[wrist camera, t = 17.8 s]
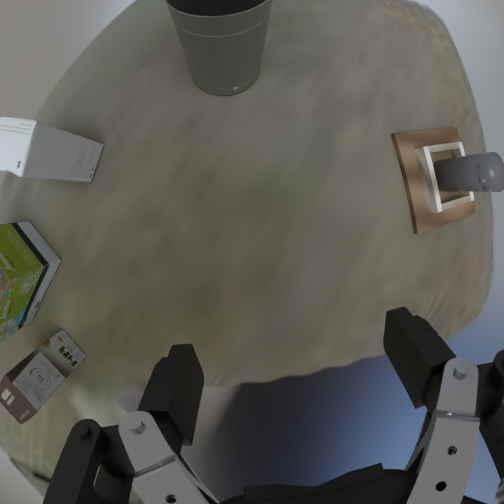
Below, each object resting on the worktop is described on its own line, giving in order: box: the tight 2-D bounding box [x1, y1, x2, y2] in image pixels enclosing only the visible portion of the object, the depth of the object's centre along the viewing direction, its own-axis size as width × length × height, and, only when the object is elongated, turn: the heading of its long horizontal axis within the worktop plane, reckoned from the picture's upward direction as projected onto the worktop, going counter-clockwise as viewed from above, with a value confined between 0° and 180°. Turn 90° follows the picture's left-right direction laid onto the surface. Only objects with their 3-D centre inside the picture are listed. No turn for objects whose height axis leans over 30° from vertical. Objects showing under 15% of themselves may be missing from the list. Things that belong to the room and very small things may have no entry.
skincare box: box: [0, 117, 104, 183], centre depth 24 cm, size 8×6×15 cm
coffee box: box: [0, 329, 86, 425], centre depth 28 cm, size 9×6×16 cm
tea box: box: [0, 221, 61, 342], centre depth 26 cm, size 15×10×15 cm, turn 138°
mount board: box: [391, 128, 475, 234], centre depth 33 cm, size 15×15×4 cm
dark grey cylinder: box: [433, 152, 504, 192], centre depth 27 cm, size 5×5×12 cm
